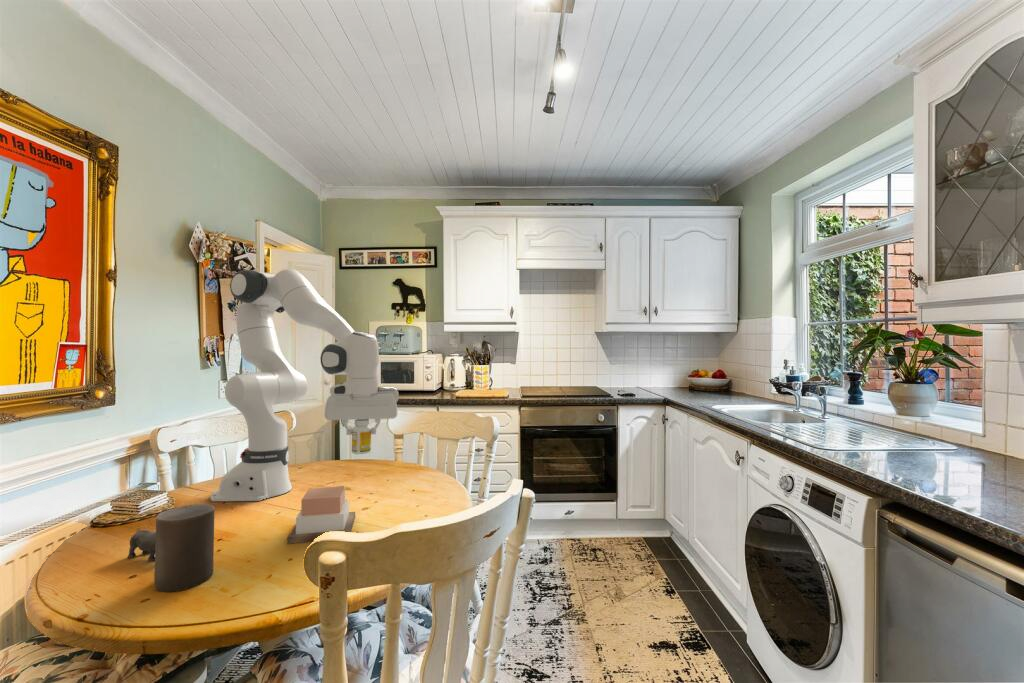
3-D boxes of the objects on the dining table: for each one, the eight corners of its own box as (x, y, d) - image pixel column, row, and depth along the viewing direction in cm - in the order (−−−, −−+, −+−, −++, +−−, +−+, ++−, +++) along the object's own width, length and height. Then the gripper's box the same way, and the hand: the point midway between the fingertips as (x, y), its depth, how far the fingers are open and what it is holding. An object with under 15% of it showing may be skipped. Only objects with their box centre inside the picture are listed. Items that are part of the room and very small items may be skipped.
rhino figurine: (173, 566, 96) (174, 538, 96) (122, 559, 98) (123, 532, 98) (191, 557, 100) (191, 530, 100) (141, 551, 102) (142, 524, 103)
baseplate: (287, 543, 107) (287, 537, 107) (300, 521, 120) (300, 515, 120) (349, 538, 110) (349, 532, 110) (355, 517, 123) (355, 511, 123)
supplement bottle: (348, 454, 128) (349, 421, 128) (355, 450, 133) (355, 418, 134) (367, 454, 128) (367, 421, 128) (373, 450, 133) (373, 418, 134)
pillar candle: (200, 589, 86) (202, 511, 87) (142, 595, 84) (144, 515, 85) (221, 566, 96) (223, 495, 96) (170, 570, 94) (172, 498, 94)
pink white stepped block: (295, 534, 108) (296, 501, 108) (305, 517, 119) (305, 487, 119) (343, 530, 111) (344, 497, 111) (348, 514, 122) (349, 484, 122)
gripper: (399, 386, 136) (398, 431, 136) (327, 386, 132) (326, 433, 132) (398, 388, 130) (397, 435, 130) (324, 388, 125) (323, 437, 125)
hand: (361, 434), depth 131 cm, fingers closed on supplement bottle, 5 cm apart
